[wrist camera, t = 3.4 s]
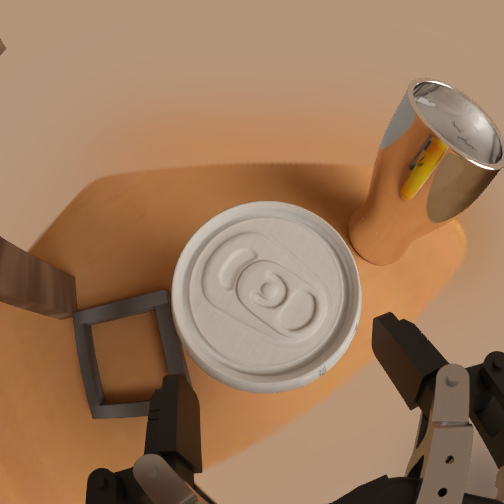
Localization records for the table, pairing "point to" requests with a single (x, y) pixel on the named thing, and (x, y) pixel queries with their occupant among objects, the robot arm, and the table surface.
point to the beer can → (266, 297)
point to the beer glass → (425, 169)
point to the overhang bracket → (84, 318)
